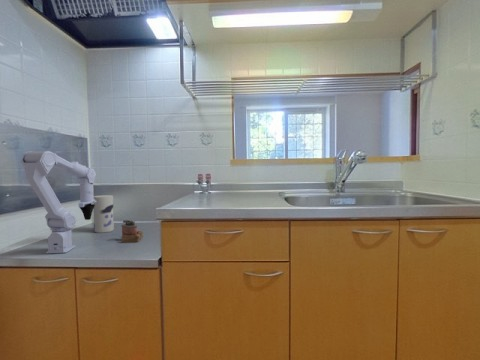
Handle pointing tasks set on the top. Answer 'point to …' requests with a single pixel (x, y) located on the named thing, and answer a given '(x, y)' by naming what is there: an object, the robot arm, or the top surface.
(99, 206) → the container
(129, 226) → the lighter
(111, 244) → the top surface
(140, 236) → the lighter dock
